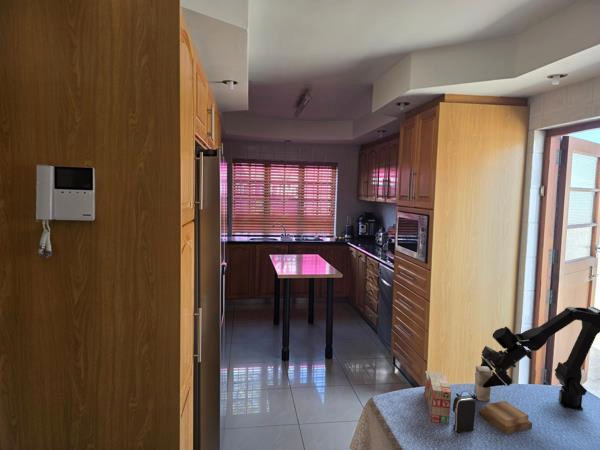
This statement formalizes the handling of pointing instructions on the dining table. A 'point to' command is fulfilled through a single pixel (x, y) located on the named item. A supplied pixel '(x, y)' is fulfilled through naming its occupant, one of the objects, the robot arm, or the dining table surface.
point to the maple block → (506, 413)
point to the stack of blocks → (437, 397)
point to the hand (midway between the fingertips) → (479, 381)
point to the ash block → (480, 378)
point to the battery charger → (464, 413)
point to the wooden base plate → (501, 427)
